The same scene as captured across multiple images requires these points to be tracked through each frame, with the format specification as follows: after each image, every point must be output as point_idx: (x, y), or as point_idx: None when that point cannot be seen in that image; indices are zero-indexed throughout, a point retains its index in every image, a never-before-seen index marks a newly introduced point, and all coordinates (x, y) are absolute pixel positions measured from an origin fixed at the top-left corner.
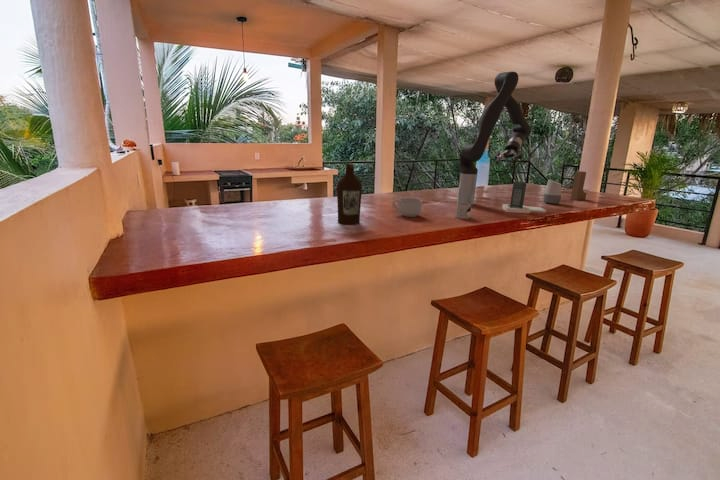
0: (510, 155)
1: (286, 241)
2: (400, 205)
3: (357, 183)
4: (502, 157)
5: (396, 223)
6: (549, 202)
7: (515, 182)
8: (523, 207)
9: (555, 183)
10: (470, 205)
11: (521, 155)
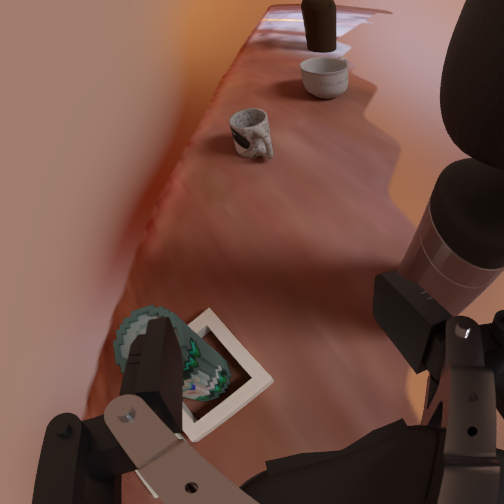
0: (289, 467)
1: (281, 24)
2: (328, 65)
3: (302, 1)
4: (431, 403)
5: (286, 68)
6: None
7: (164, 312)
8: (184, 409)
9: None
10: (229, 122)
11: (59, 441)
